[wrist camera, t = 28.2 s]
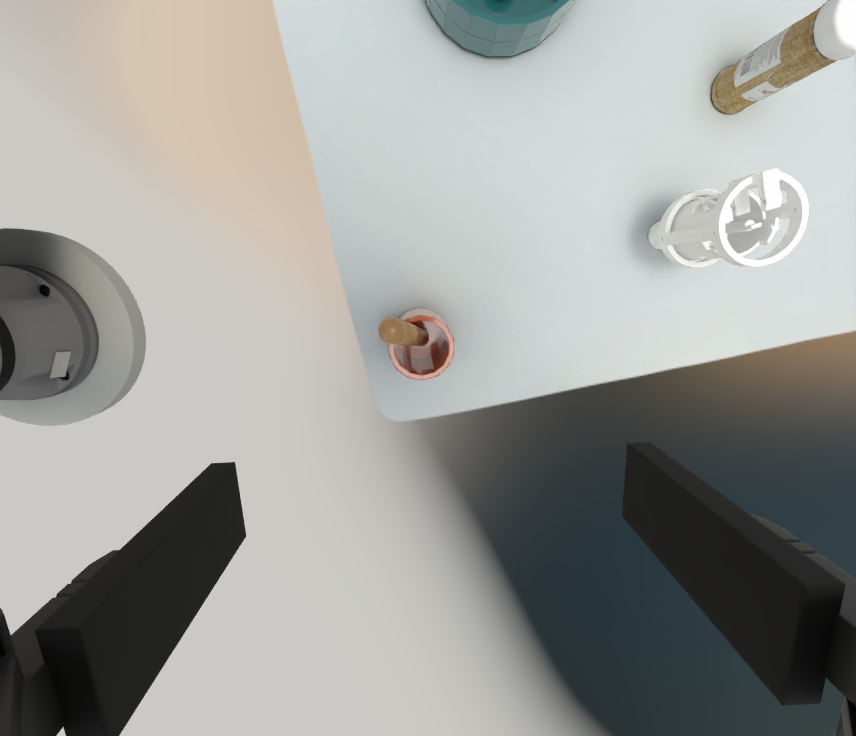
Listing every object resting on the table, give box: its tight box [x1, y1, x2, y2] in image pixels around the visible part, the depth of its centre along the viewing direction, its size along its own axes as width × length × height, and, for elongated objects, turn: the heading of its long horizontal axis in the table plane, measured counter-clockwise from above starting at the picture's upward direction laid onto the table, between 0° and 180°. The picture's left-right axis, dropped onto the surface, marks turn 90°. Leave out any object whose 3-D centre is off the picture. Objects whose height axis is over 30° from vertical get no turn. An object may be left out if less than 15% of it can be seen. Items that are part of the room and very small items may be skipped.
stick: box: [378, 317, 429, 347], centre depth 39 cm, size 2×2×18 cm
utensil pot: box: [389, 308, 454, 380], centre depth 44 cm, size 6×6×8 cm
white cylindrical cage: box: [648, 168, 809, 267], centre depth 39 cm, size 7×7×15 cm
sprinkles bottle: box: [712, 0, 856, 114], centre depth 37 cm, size 5×5×13 cm
